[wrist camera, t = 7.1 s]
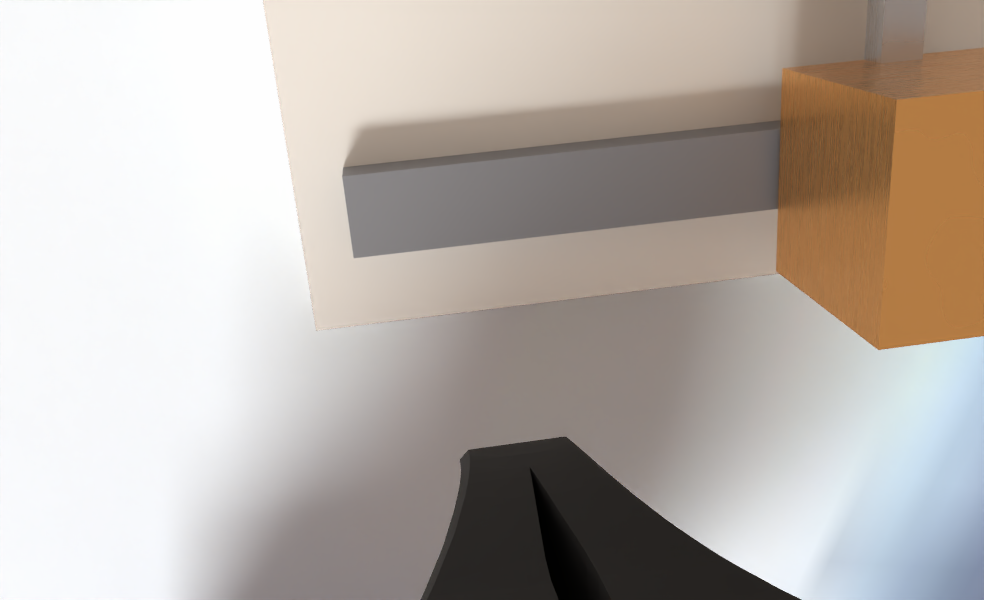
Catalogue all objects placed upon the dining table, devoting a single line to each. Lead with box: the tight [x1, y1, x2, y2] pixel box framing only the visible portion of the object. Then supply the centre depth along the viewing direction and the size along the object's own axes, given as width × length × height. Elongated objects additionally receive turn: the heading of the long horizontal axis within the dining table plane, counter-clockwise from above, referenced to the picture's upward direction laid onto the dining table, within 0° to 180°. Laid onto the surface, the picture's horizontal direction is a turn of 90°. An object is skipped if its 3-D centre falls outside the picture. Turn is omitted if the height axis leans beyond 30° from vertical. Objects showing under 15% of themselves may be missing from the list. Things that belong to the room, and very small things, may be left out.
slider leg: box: [776, 0, 984, 350], centre depth 16 cm, size 4×7×5 cm, turn 4°
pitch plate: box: [263, 0, 984, 331], centre depth 17 cm, size 22×9×6 cm, turn 94°
